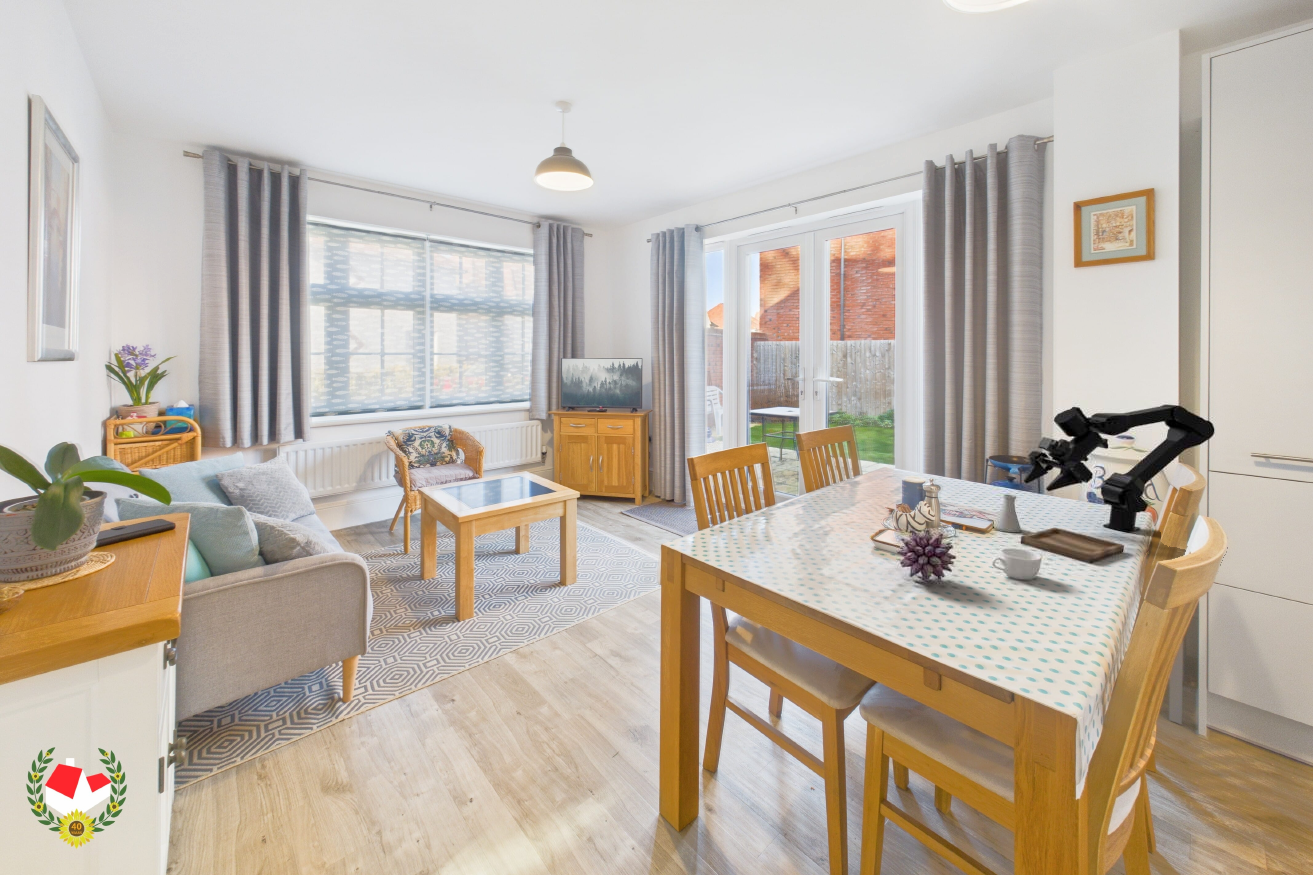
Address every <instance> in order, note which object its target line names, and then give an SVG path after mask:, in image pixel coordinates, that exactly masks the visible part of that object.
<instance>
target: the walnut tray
mask: <svg viewBox="0 0 1313 875" xmlns="http://www.w3.org/2000/svg"><path fill="white" fill-rule="evenodd" d="M1020 544H1021V545H1025V546H1029V547H1032V548H1035V549H1038V550H1042V551H1045V552H1049V553H1052V554H1055V555H1059V556H1063V557H1066V558H1069V559H1073V560H1075V561H1076V560H1077V561H1080V562H1083V563H1086V564H1093V563H1096V562H1098V561H1099V562H1100V561H1101V560H1106V559H1108V558H1111V557H1110V556H1112V557H1114V556H1113V555H1115V556H1117V555H1116V554H1118V555H1120V554H1119V553H1121V554H1123V553H1124V550H1125V545H1124V544H1121V543H1117V542H1114V541H1109V540H1105V539H1103V538H1102V539H1101V538H1099V537H1093V536H1089V535H1086V534H1081V533H1078V532H1074V531H1070V530H1066V529H1062V528H1058V527H1052V528H1048V529H1044V530H1041V531H1036V532H1033V533H1032V532H1031V533H1029V534H1025V535H1021V536H1020ZM1122 552H1123V553H1122ZM1107 557H1108V558H1107Z"/></svg>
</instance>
